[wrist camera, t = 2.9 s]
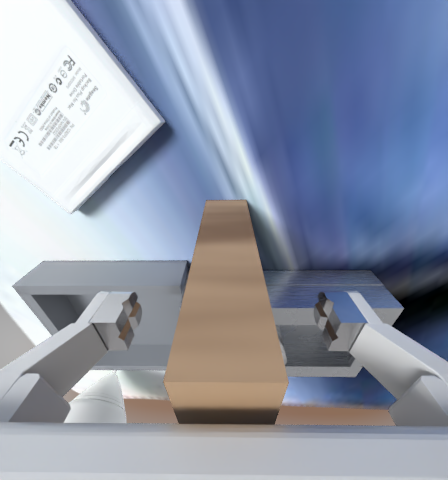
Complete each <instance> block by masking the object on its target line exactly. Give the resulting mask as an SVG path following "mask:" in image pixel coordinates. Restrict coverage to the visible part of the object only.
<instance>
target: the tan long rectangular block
mask: <svg viewBox="0 0 448 480" xmlns="http://www.w3.org/2000/svg"><path fill="white" fill-rule="evenodd" d="M163 383H164V386H165V388H166V391H167V393H168V396H169V399H170V401H171V404H172V406H173V409H174V412H175V415H176V417H177V420H178V422H179V424H253V425H274V424H275V421H276V418H277V415H278V412H279V409H280V407H281V404H282V401H283V398H284V395H285V392H286V389H287V386H288V383H289V382H288V378H287V373H286V369H285V365H284V360H283V356H282V352H281V347H280V343H279V339H278V335H277V330H276V326H275V322H274V317H273V313H272V309H271V304H270V300H269V296H268V291H267V287H266V283H265V278H264V274H263V270H262V265H261V261H260V257H259V253H258V248H257V244H256V240H255V235H254V231H253V227H252V222H251V218H250V214H249V209H248V205H247V201H246V200H206V203H205V208H204V212H203V216H202V220H201V224H200V229H199V233H198V237H197V241H196V246H195V250H194V254H193V258H192V262H191V267H190V271H189V275H188V279H187V284H186V288H185V292H184V296H183V300H182V305H181V309H180V313H179V317H178V322H177V326H176V330H175V334H174V338H173V343H172V347H171V351H170V355H169V360H168V364H167V368H166V372H165V376H164V381H163Z"/></svg>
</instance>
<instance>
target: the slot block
mask: <svg viewBox="0 0 448 480" xmlns="http://www.w3.org/2000/svg"><path fill="white" fill-rule="evenodd" d="M263 274H264V278H265V283H266V287H267V291H268V296H269V300H270V304H271V309H272V313H273V317H274V322H275V325H279V328H280V332H281V337H282V341H283V345H284V350H285V354H286V358H287V363H286V365H285V369H286V373H287V376H292V377H356V376H357V374H358V373H359V371H360V370H361V369H362V367H363V366H362V365H361V364H360V363H359V362H358V361H357V360H356V359H355V358H354V357H353V356H352V355H351V354H350V353H349V351H328V349H327V347H326V345H325V342H324V340H323V338H322V332H323V330H321V329H320V328H319V327H318V326H317V324H316V322H315V318H314V306H315V304H316V303H318V302H319V300H318V298H317V297H318V294H319V293H320V292H321V291H357V292H359V293H360V294H361V295H362V297H363V298H364V299H365V300H366V302H367V303H368V304H369V306H370V307H371V308H372V310H373V311H374V312H375V313H376V315H377V316H378V317H379V319H380V320H381V321H382V323H384V324H389V325H390V326H392V325H393V323H394V322H395V321H396V319H397V318H398V316H399V315H400V314H401V312H402V311H403V309H404V308H403V306H402V305H401V304H400V303H399V302H398V301H397V300H396V299H395V298H394V297H393V295H392V294H391V293H390V292H389V291H388V290H387V289H386V288H385V287H384V286H383V284H382V283H381V282H380V280H379V279H378V278H377V277H376V276H375V275H374V274H373V273H372V272H371V271H370V270H285V271H263ZM188 275H189V271H188V274H187V278H186V282H185V287H184V291H183V295H182V299H181V304H180V308H179V309H181V305H182V300H183V296H184V292H185V288H186V284H187V279H188Z"/></svg>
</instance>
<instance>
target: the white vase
mask: <svg viewBox="0 0 448 480" xmlns="http://www.w3.org/2000/svg"><path fill="white" fill-rule="evenodd" d="M116 371H117V370H113V371H112V373H109V374H108V375H106V376H104V377H103V378H101V379H100V380H98V381H97V382H95V383H94V384H93V385H91V386H90V387H89V388H87V389H86V390H85V391H83V392H82V393H81V394H80V395H78V396H77V397H76V398H74V399H73V400H72V401H71V402H69V404H70V407H71V410H70V412H69V414H68V415H67V417H66V419H65V421H64V423H126V413H125V407H124V401H123V395H122V391H121V387H120V383H119V380H118V377H117V375H116V374H115V373H116Z"/></svg>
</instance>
